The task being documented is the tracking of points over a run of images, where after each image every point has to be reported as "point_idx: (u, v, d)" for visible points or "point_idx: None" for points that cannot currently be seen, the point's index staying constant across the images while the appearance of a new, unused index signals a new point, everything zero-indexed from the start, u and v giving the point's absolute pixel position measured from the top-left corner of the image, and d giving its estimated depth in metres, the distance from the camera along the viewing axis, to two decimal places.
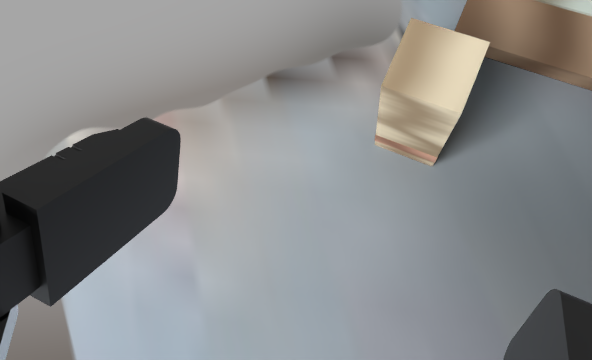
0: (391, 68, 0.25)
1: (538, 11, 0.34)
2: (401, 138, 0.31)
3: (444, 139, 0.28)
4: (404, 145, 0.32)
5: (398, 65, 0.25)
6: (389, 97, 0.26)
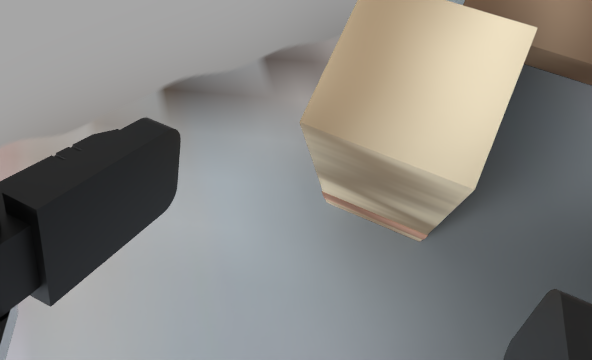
0: (322, 84, 0.12)
1: None
2: (363, 203, 0.18)
3: (438, 218, 0.15)
4: (370, 211, 0.19)
5: (339, 78, 0.12)
6: (322, 143, 0.12)
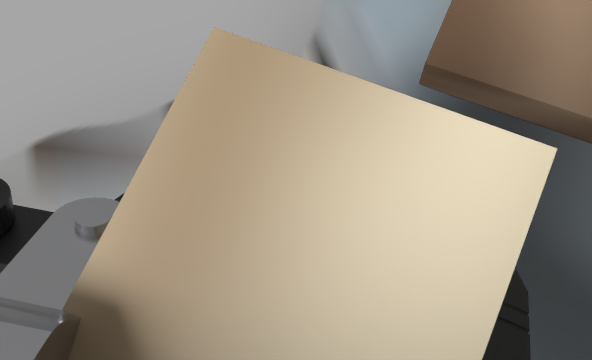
0: (98, 260, 0.05)
1: None
2: None
3: None
4: None
5: (133, 248, 0.06)
6: None
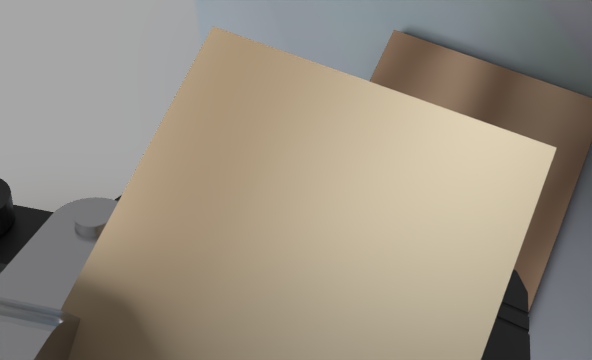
0: (97, 260, 0.05)
1: None
2: None
3: None
4: None
5: (132, 247, 0.05)
6: None
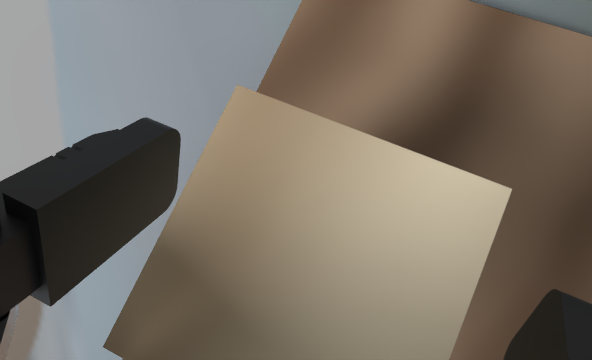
0: (147, 276, 0.07)
1: None
2: None
3: None
4: None
5: (175, 267, 0.07)
6: None
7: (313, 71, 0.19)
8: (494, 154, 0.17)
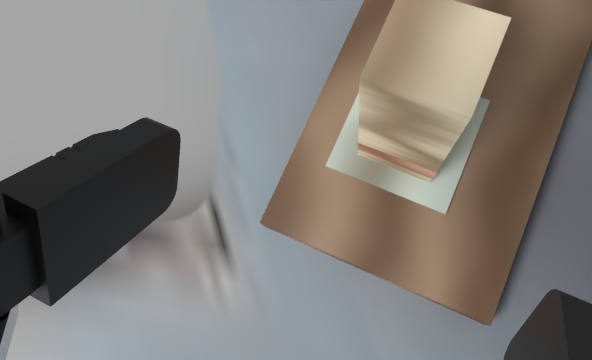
0: (373, 53, 0.18)
1: (364, 196, 0.27)
2: (390, 147, 0.24)
3: (446, 151, 0.21)
4: (394, 156, 0.25)
5: (384, 50, 0.18)
6: (371, 94, 0.19)
7: (388, 13, 0.30)
8: (500, 59, 0.28)
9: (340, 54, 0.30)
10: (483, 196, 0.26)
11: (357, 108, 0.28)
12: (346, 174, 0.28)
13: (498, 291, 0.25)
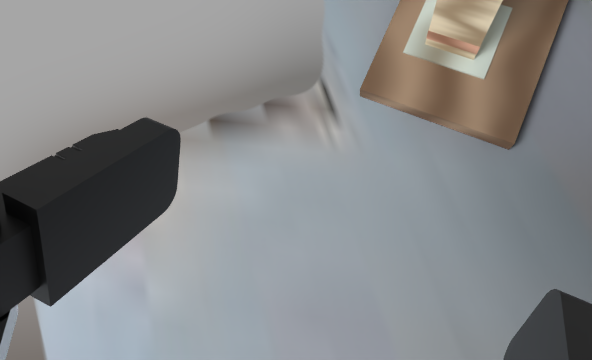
0: None
1: (430, 70, 0.41)
2: (451, 29, 0.38)
3: (490, 21, 0.35)
4: (452, 38, 0.39)
5: None
6: None
7: None
8: None
9: None
10: (508, 67, 0.40)
11: (423, 15, 0.42)
12: (417, 56, 0.42)
13: (519, 123, 0.39)
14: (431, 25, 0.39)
